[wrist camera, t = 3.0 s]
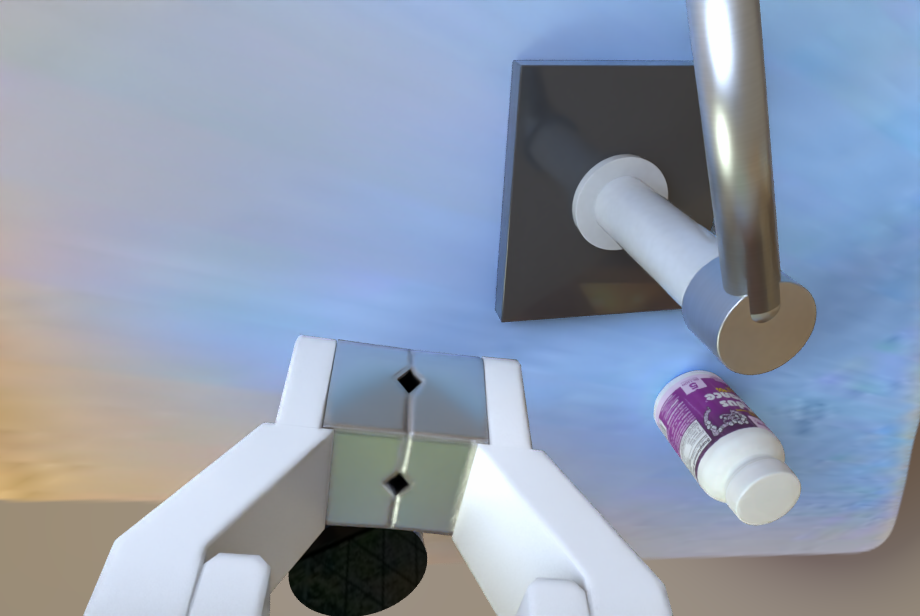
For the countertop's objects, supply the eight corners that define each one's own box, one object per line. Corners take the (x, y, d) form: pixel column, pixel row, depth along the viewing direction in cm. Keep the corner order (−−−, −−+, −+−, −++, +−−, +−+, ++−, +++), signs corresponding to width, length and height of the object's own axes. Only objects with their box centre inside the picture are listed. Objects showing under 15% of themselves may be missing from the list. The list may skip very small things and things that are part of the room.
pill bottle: (734, 367, 48) (828, 461, 40) (710, 430, 50) (794, 532, 42) (662, 366, 46) (744, 464, 38) (640, 431, 49) (714, 537, 41)
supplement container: (372, 372, 42) (395, 497, 33) (415, 450, 45) (447, 582, 36) (266, 418, 42) (261, 556, 33) (317, 493, 45) (326, 636, 36)
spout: (762, 305, 31) (822, 355, 27) (676, 339, 31) (726, 393, 27) (719, -142, 22) (799, -151, 19) (598, -97, 22) (657, -98, 18)
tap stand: (512, 59, 35) (609, 122, 25) (732, 60, 37) (906, 118, 27) (494, 310, 42) (565, 443, 31) (682, 297, 44) (806, 416, 34)
